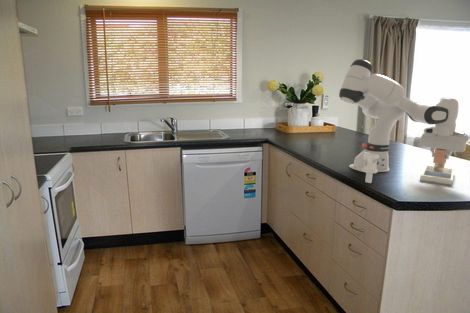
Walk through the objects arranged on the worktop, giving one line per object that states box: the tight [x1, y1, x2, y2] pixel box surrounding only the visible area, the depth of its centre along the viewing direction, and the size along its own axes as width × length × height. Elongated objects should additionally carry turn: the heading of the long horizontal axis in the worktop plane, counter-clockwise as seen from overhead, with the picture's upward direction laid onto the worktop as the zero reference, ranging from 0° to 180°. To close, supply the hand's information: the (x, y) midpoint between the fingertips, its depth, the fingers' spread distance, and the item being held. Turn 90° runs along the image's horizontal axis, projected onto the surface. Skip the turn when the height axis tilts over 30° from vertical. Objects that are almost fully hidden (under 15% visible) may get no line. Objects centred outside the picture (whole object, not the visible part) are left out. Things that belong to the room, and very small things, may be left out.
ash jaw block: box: [433, 163, 446, 172], centre depth 191 cm, size 4×4×7 cm
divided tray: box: [419, 164, 455, 187], centre depth 186 cm, size 25×14×3 cm, turn 147°
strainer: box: [362, 152, 379, 184], centre depth 175 cm, size 7×7×15 cm
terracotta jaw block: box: [432, 148, 448, 165], centre depth 179 cm, size 4×4×7 cm
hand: (440, 157), depth 179 cm, fingers closed on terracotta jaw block, 4 cm apart
